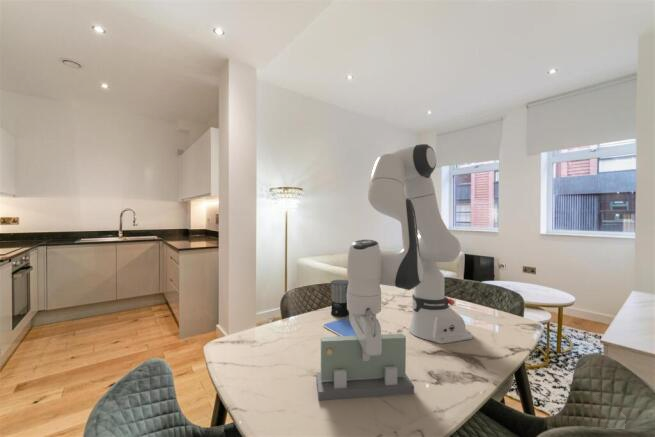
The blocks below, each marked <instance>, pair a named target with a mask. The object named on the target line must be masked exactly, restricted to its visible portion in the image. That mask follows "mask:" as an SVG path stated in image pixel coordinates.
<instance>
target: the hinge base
mask: <svg viewBox="0 0 655 437" xmlns="http://www.w3.org/2000/svg"><path fill="white" fill-rule="evenodd" d="M315 377H316V390H317V398H318V401H328V400H342V399H343V400H344V399H356V398H357V399H359V398H373V397H374V398H375V397H391V396H400V395H401V396H403V395H414V394H415V384H413V382H412V381H411V379H410V378H409V376H408V375H407V373H406V372H405V376H397V367H385V376H384V377H379V378H362V379H347V371H346V369H342V370H334V380H328V381H321V372H316V376H315Z"/></svg>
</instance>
